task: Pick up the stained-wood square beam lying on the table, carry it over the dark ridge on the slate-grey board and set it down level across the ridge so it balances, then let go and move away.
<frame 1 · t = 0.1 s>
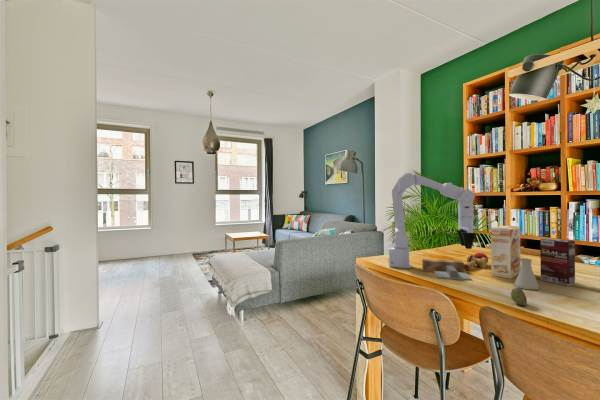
hand: (466, 247, 123), 10 cm above the table, tool pointing down, fingers open, 7 cm apart
coffeecake box: (506, 274, 115), on the table
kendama: (475, 268, 126), on the table
supplement box: (557, 282, 102), on the table
fulcrum: (451, 276, 113), on the table
lime: (520, 305, 82), on the table
beam: (442, 270, 122), on the table
flask: (526, 287, 98), on the table
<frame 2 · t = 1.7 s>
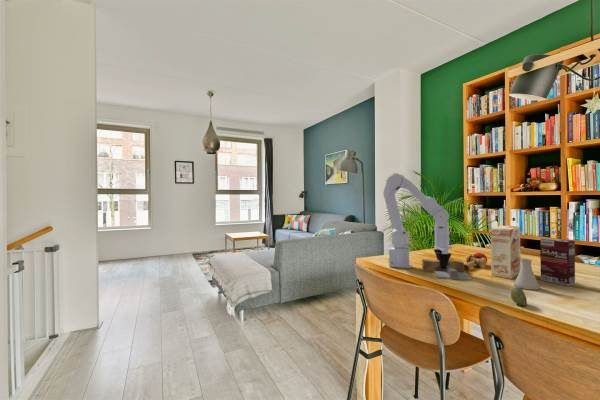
hand: (442, 267, 122), 1 cm above the table, tool pointing down, fingers open, 6 cm apart
nothing on the table moved.
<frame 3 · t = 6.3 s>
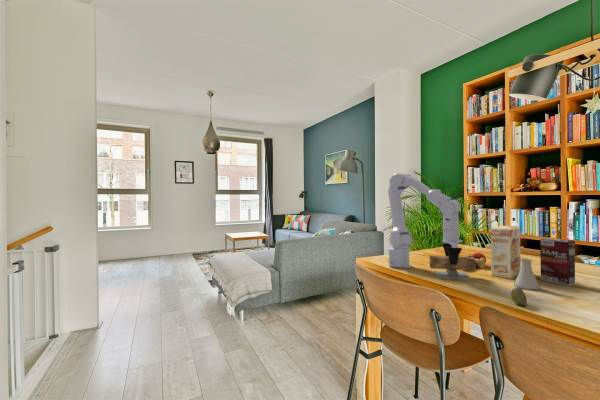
hand: (451, 262, 113), 6 cm above the table, tool pointing down, fingers open, 7 cm apart
beam: (451, 268, 113), point 3 cm above the table, touching fulcrum
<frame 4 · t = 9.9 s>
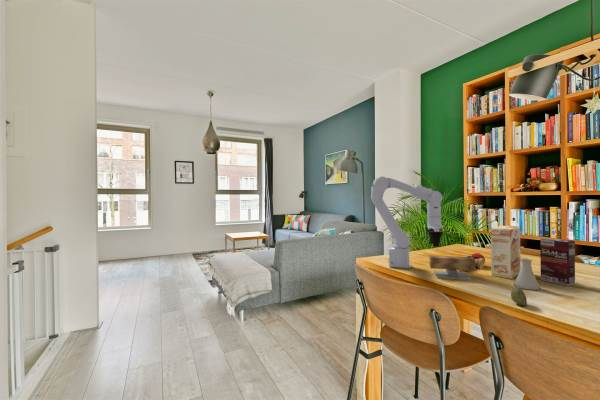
hand: (434, 245, 129), 10 cm above the table, tool pointing down, fingers open, 7 cm apart
at the end: beam 0.0 cm off-centre on the fulcrum, point 3.2 cm above the fulcrum's base; beam tilted 0°; beam touching fulcrum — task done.
